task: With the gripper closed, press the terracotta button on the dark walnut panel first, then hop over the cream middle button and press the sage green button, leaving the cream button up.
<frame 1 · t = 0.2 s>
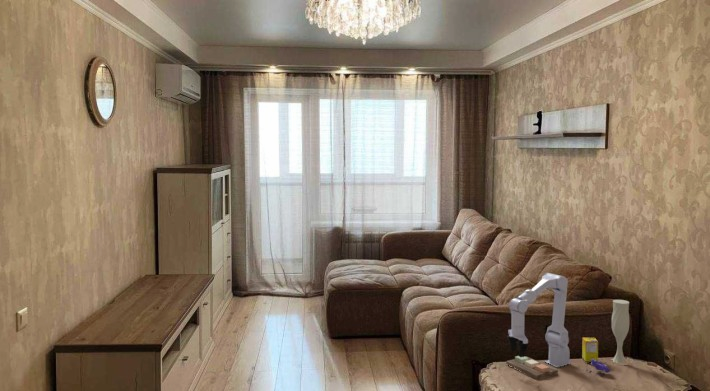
hand: (517, 353, 261), 10 cm above the table, tool pointing down, fingers open, 7 cm apart
supplement box: (589, 361, 277), on the table
vase: (619, 362, 275), on the table
cream button: (531, 364, 267), point 3 cm above the table, slide at 0.0 cm
terracotta button: (541, 369, 261), point 3 cm above the table, slide at 0.0 cm
button panel: (531, 369, 267), on the table
sage button: (521, 359, 272), point 3 cm above the table, slide at 0.0 cm
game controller: (598, 374, 261), on the table
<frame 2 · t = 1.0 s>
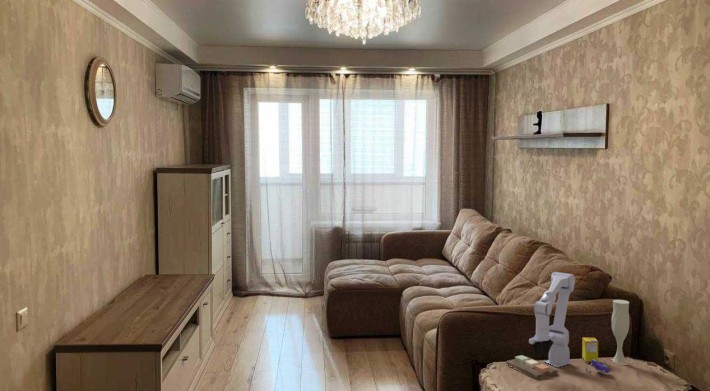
hand: (542, 356, 260), 8 cm above the table, tool pointing down, fingers open, 4 cm apart
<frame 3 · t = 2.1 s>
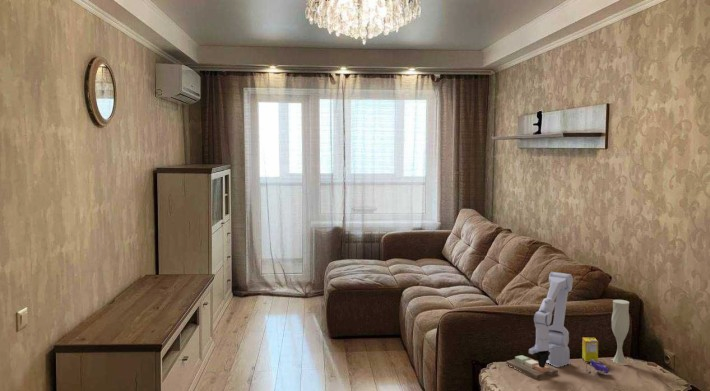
hand: (541, 366, 261), 4 cm above the table, tool pointing down, fingers closed, pressing on terracotta button
terracotta button: (541, 369, 261), point 2 cm above the table, slide at 0.1 cm, touching gripper
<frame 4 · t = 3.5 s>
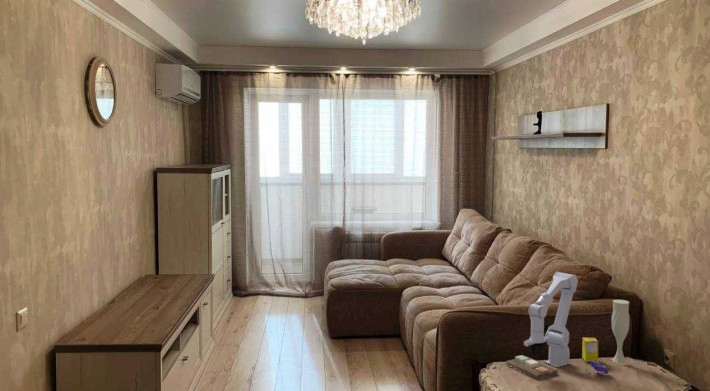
hand: (536, 358, 263), 6 cm above the table, tool pointing down, fingers closed
terracotta button: (541, 371, 261), point 1 cm above the table, slide at 1.2 cm
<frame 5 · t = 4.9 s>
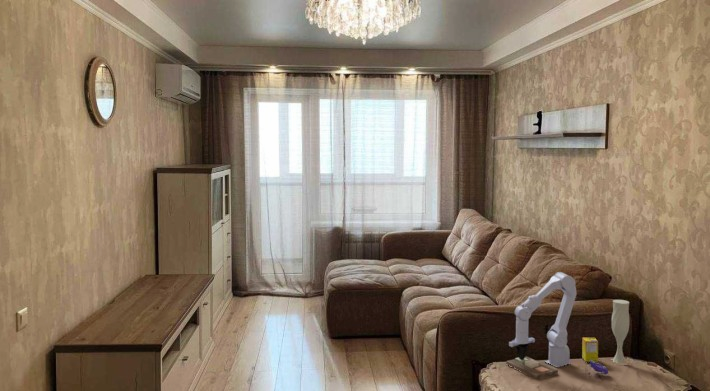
hand: (521, 359, 272), 3 cm above the table, tool pointing down, fingers closed, pressing on sage button
sage button: (521, 361, 272), point 2 cm above the table, slide at 0.7 cm, touching gripper
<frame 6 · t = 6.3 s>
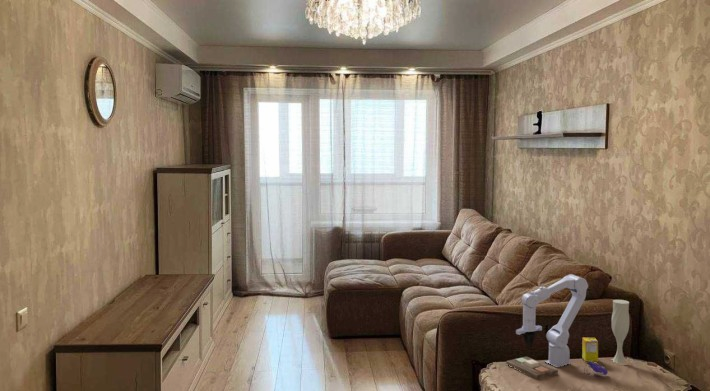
hand: (528, 346, 271), 9 cm above the table, tool pointing down, fingers closed
sage button: (521, 362, 272), point 1 cm above the table, slide at 1.2 cm
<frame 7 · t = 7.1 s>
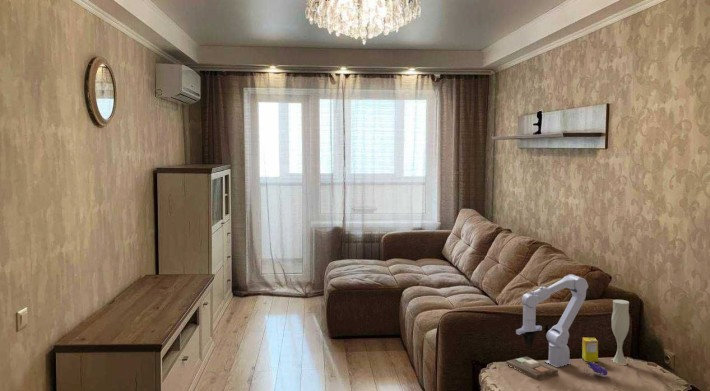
hand: (528, 346, 270), 9 cm above the table, tool pointing down, fingers closed
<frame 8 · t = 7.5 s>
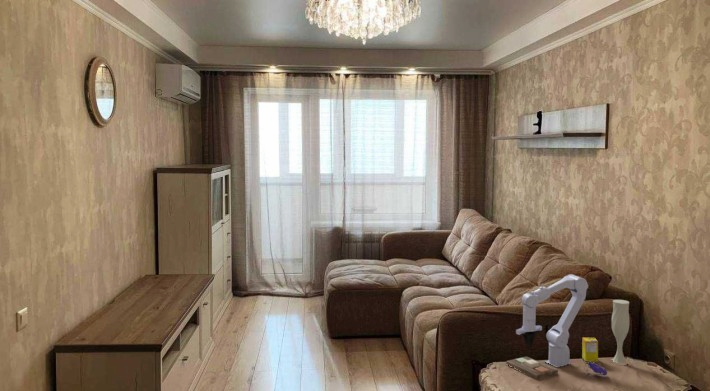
hand: (528, 346, 270), 9 cm above the table, tool pointing down, fingers closed
at the end: terracotta button slide at 1.2 cm; sage button slide at 1.2 cm; cream button slide at 0.0 cm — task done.
